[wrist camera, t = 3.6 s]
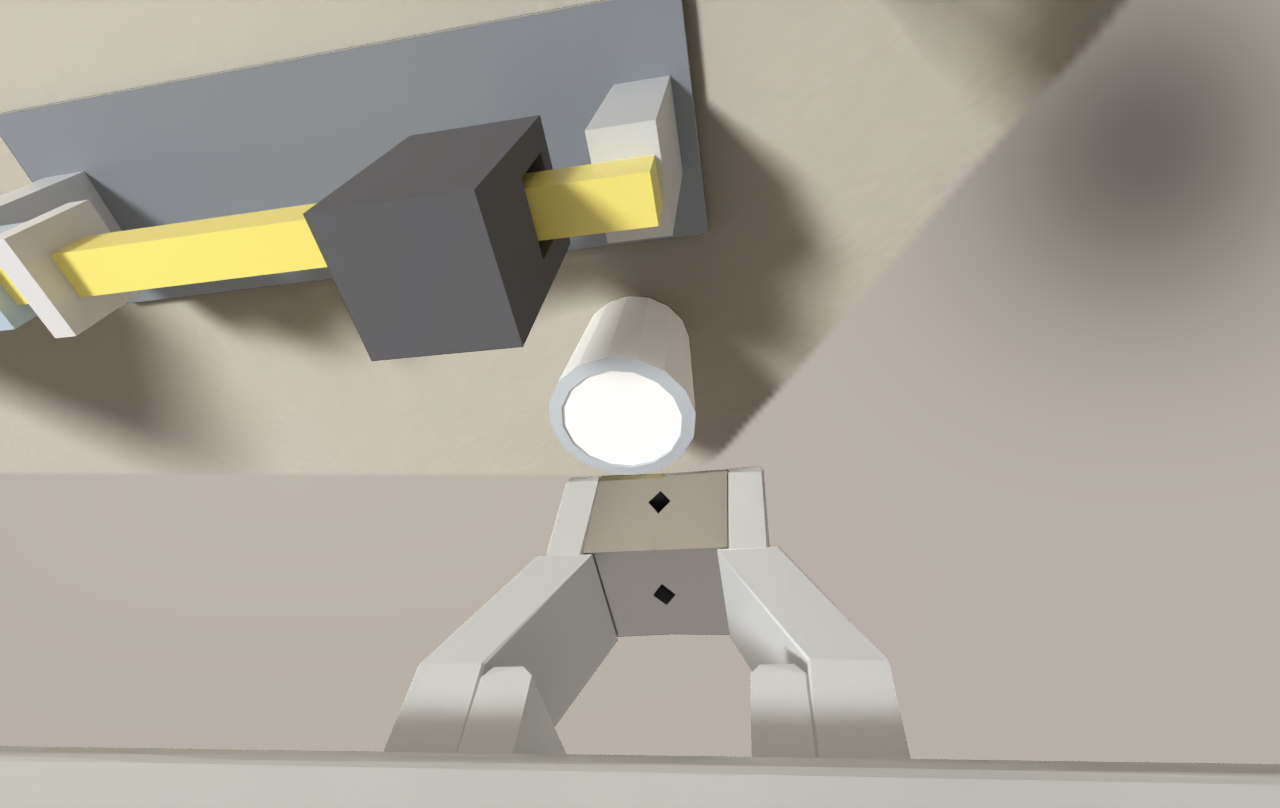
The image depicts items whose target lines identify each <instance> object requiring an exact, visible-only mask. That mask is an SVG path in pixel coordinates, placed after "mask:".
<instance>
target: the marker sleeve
mask: <svg viewBox="0 0 1280 808" xmlns="http://www.w3.org/2000/svg"><path fill="white" fill-rule="evenodd" d="M552 169H553V167H552V163H551V159H550V155H549V151H548V146H547V142H546V138H545V134H544V130H543V125H542V121H541V117H540V115H537V116H531V117H524V118H518V119H512V120H506V121H499V122H493V123H487V124H480V125H474V126H468V127H461V128H455V129H449V130H442V131H436V132H430V133H424V134H417V135H411V136H409V137H407V138H406V139H404V140H403V141H402V142H400V143H399V144H398V145H396V146H395V147H393V148H392V149H391V150H389V151H388V152H387V153H385V154H384V155H383V156H381V157H380V158H378V159H377V160H376V161H374V162H373V163H372V164H370V165H369V166H367V167H366V168H365V169H363V170H362V171H361V172H359V173H358V174H357V175H355V176H354V177H352V178H351V179H350V180H348V181H347V182H346V183H344V184H343V185H341V186H340V187H339V188H337V189H336V190H335V191H333V192H332V193H331V194H329V195H328V196H326V197H325V198H324V199H322V200H321V201H320V202H318V203H317V204H315V205H314V206H313V207H311V208H310V209H309V210H307V211H306V212H305V213H303V215H304V218H305V220H306V222H307V224H308V226H309V228H310V230H311V233H312V235H313V237H314V239H315V241H316V243H317V245H318V248H319V250H320V252H321V254H322V256H323V258H324V260H325V262H326V265H327V267H328V269H329V271H330V273H331V275H332V277H333V280H334V282H335V284H336V286H337V288H338V290H339V292H340V294H341V297H342V299H343V301H344V303H345V305H346V307H347V309H348V312H349V314H350V316H351V318H352V320H353V322H354V324H355V327H356V329H357V331H358V333H359V335H360V337H361V339H362V341H363V344H364V346H365V348H366V350H367V352H368V354H369V356H370V359H371V361H378V360H389V359H399V358H410V357H421V356H431V355H442V354H452V353H463V352H474V351H484V350H495V349H506V348H516V347H523V345H524V343H525V341H526V339H527V337H528V335H529V332H530V330H531V328H532V326H533V324H534V322H535V319H536V317H537V315H538V313H539V311H540V308H541V306H542V304H543V302H544V300H545V298H546V295H547V293H548V291H549V289H550V287H551V285H552V282H553V280H554V278H555V276H556V274H557V271H558V269H559V267H560V265H561V263H562V261H563V258H564V256H565V254H566V252H567V250H568V248H569V245H570V238H569V237H567V238H558V239H550V240H542V241H538V238H537V234H536V231H535V227H534V223H533V219H532V216H531V212H530V208H529V205H528V201H527V197H526V193H525V190H524V186H523V182H522V177H523V175H524V174H525V173H531V172H538V171H545V170H552Z"/></svg>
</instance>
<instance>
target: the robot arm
mask: <svg viewBox="0 0 1280 808" xmlns="http://www.w3.org/2000/svg"><path fill="white" fill-rule="evenodd" d="M767 520H768V519H767V507H766V495H765V483H764V470H763V469H762V467H761V466H755V467H742V468H730V469H729V470H728V469H725V470H709V471H694V472H679V473H665V474H638V475H611V476H602V477H573V478H570V480H569V481H568V482H567V483H566V485H565V489H564V492H563V496H562V499H561V503H560V507H559V510H558V514H557V517H556V521H555V525H554V528H553V532H552V535H551V539H550V543H549V546H548V550H547V554H546V556H539V557H536V558H535V559H533V560H532V561H531V562H530V563H529V564H528V565H527V566H526V567H525V568H524V569H523V570H521V572H519V573H518V574H517V575H516V576H515V577H514V578H513V579H512V580H511V581H510V582H509V583H507V584H506V585H505V586H504V587H503V588H502V589H501V590H500V591H499V592H497V593H496V594H495V595H494V596H493V597H492V598H491V599H490V600H489V601H488V602H487V603H485V604H484V605H483V606H482V607H481V608H480V609H479V610H478V611H477V612H476V613H475V614H473V615H472V616H471V617H470V618H469V619H468V620H467V621H466V622H465V623H464V624H463V625H462V626H460V627H459V628H458V629H457V630H456V631H455V632H454V633H453V634H452V635H451V636H450V637H449V638H447V639H446V640H445V641H444V642H443V643H442V644H441V645H440V646H439V647H438V648H437V649H435V650H434V651H433V652H432V653H431V654H430V655H429V656H428V657H427V658H426V659H424V660H423V661H422V662H421V663H420V664H419V666H418V668H417V671H416V673H415V676H414V678H413V680H412V683H411V685H410V688H409V690H408V693H407V695H406V698H405V700H404V703H403V705H402V708H401V710H400V712H399V715H398V717H397V720H396V722H395V725H394V727H393V729H392V732H391V734H390V737H389V739H388V742H387V744H386V747H385V749H384V752H370V751H369V752H368V751H367V752H366V751H299V750H230V749H229V750H228V749H227V750H226V749H161V748H157V749H156V748H93V747H87V748H86V747H25V746H24V747H22V746H0V808H1280V764H1228V763H1227V764H1226V763H1158V762H1156V763H1154V762H1152V763H1151V762H1088V761H1083V762H1082V761H1081V762H1080V761H1017V760H1015V761H1014V760H947V759H943V760H942V759H910V754H909V750H908V745H907V741H906V736H905V732H904V727H903V723H902V718H901V714H900V710H899V705H898V700H897V696H896V691H895V687H894V682H893V678H892V673H891V669H890V665H889V661H888V660H887V659H886V658H885V657H884V656H883V654H882V653H881V652H880V651H879V650H878V649H877V648H876V647H875V646H874V645H873V644H872V643H871V642H870V641H869V640H868V639H867V638H866V637H865V636H864V635H863V634H862V633H861V632H860V631H859V629H858V628H857V627H856V626H855V625H854V624H853V623H852V622H851V621H850V620H849V619H848V618H847V617H846V616H845V615H844V614H843V613H842V612H841V611H840V610H839V609H838V608H837V607H836V605H835V604H834V603H833V602H832V601H831V600H830V599H829V598H828V597H827V596H826V595H825V594H824V593H823V592H822V591H821V590H820V589H819V588H818V587H817V586H816V585H815V584H814V583H813V582H812V580H811V579H810V578H809V577H808V576H807V575H806V574H805V573H804V572H803V571H802V570H801V569H800V568H799V567H798V566H797V565H796V564H795V563H794V562H793V561H792V560H791V559H790V558H789V557H788V556H787V554H786V553H785V552H784V551H783V550H782V549H781V548H780V547H770V544H769V532H768V521H767ZM669 634H689V635H730V638H731V639H732V641H733V643H734V644H735V645H736V647H737V648H738V650H739V652H740V653H741V655H742V656H743V658H744V659H745V661H746V663H747V664H748V666H749V667H750V669H751V670H752V673H751V674H750V679H751V680H750V682H751V683H750V686H751V739H752V757H723V756H719V757H717V756H716V757H715V756H647V755H579V754H578V755H576V754H572V755H571V754H566V753H565V750H564V748H563V746H562V743H561V741H560V739H559V737H558V734H557V732H556V730H555V726H556V725H557V723H558V722H559V721H560V719H561V718H562V716H563V715H564V713H565V712H566V711H567V709H568V708H569V707H570V705H571V704H572V703H573V701H574V700H575V699H576V697H577V696H578V694H579V693H580V692H581V690H582V689H583V687H584V686H585V685H586V683H587V682H588V681H589V679H590V678H591V677H592V675H593V674H594V672H595V671H596V670H597V668H598V667H599V666H600V664H601V662H602V661H603V660H604V659H605V657H606V656H607V655H608V653H609V652H610V650H611V649H612V648H613V646H614V645H615V643H616V642H617V641H618V639H617V637H622V636H623V637H624V636H645V635H646V636H647V635H669Z"/></svg>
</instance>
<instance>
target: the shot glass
mask: <svg viewBox="0 0 1280 808" xmlns="http://www.w3.org/2000/svg"><path fill="white" fill-rule="evenodd" d="M549 412H550V425H551V427H552V429H553V431H554V433H555V434H556V436H557V438H558V439H559V441H560V443H561V445H562V446H563V447H564V448H565V449H566V450H567V451H569V452H570V453H571V454H572V455H573V456H575V457H576V458H577V459H578V460H580V461H581V462H582V463H584V464H586V465H589V466H591V467H594V468H597V469H599V470H602V471H604V472H607V473H614V474H626V475H638V474H643V473H647V472H652V471H656V470H661V469H662V468H664V467H665V466H667V465H669V464H670V463H672V462H673V461H675V460H676V459H678V458H679V457H681V456H682V455H683V453H684V451H685V450H686V448H687V447H688V445H689V444H690V442H691V441H692V439H693V437H694V430H695V417H696V411H695V400H694V388H693V377H692V366H691V355H690V344H689V336H688V334H687V331H686V329H685V326H684V324H683V321H682V320H681V319H680V318H679V317H678V316H677V315H676V314H675V313H674V312H673V311H672V310H671V309H670V308H669V307H668V306H667V305H665V304H662V303H660V302H658V301H655V300H653V299H651V298H648V297H632V296H627V297H623V298H620V299H617V300H614V301H611V302H608V303H607V304H606V305H604V306H603V307H602V308H601V309H600V310H598V311H597V312H596V313H595V314H594V315H593V317H592V319H591V321H590V323H589V325H588V326H587V328H586V330H585V332H584V334H583V336H582V338H581V340H580V341H579V343H578V345H577V347H576V349H575V351H574V353H573V355H572V357H571V358H570V360H569V362H568V364H567V366H566V368H565V370H564V372H563V373H562V375H561V377H560V379H559V381H558V383H557V385H556V388H555V390H554V392H553V394H552V397H551V399H550V401H549Z"/></svg>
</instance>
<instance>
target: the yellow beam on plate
mask: <svg viewBox="0 0 1280 808" xmlns="http://www.w3.org/2000/svg"><path fill="white" fill-rule="evenodd" d="M537 115H540V117H541V121H542V125H543V130H544V134H545V138H546V142H547V146H548V151H549V155H550V159H551V163H552V167H553V169H552V170H545V171H538V172H531V173H525V174H524V175H523V177H522V182H523V186H524V190H525V193H526V197H527V201H528V205H529V208H530V212H531V216H532V219H533V223H534V227H535V231H536V234H537V238H538V241H542V240H550V239H558V238H567V237H569V238H570V245H569V248H568V250H567V251H569V250H577V249H586V248H594V247H602V246H611V245H619V244H627V243H636V242H644V241H652V240H661V239H669V238H677V237H686V236H694V235H703V234H708V220H707V211H706V202H705V194H704V185H703V176H702V167H701V158H700V149H699V141H698V132H697V123H696V114H695V105H694V97H693V88H692V79H691V70H690V61H689V53H688V44H687V35H686V26H685V17H684V8H683V0H601V1H596V2H591V3H585V4H580V5H575V6H569V7H564V8H559V9H553V10H548V11H543V12H537V13H532V14H527V15H521V16H516V17H511V18H505V19H500V20H494V21H489V22H484V23H478V24H473V25H468V26H462V27H457V28H452V29H446V30H441V31H436V32H430V33H425V34H420V35H414V36H409V37H404V38H398V39H393V40H388V41H382V42H377V43H372V44H366V45H361V46H356V47H350V48H345V49H340V50H334V51H329V52H324V53H318V54H313V55H308V56H302V57H297V58H292V59H286V60H281V61H276V62H270V63H265V64H260V65H254V66H249V67H244V68H238V69H233V70H228V71H222V72H217V73H212V74H206V75H201V76H196V77H190V78H185V79H180V80H174V81H169V82H163V83H158V84H153V85H147V86H142V87H137V88H131V89H126V90H121V91H115V92H110V93H105V94H99V95H94V96H89V97H83V98H78V99H73V100H67V101H62V102H57V103H51V104H46V105H41V106H35V107H30V108H25V109H19V110H14V111H9V112H3V113H0V136H1V138H2V139H3V141H4V142H5V143H6V145H7V146H8V148H9V149H10V151H11V152H12V154H13V155H14V157H15V158H16V159H17V161H18V162H19V164H20V165H21V167H22V168H23V170H24V171H25V173H26V174H27V176H28V177H29V178H30V180H31V181H32V183H30V184H27V185H25V186H22V187H20V188H17V189H15V190H12V191H10V192H7V193H5V194H2V195H0V331H4V330H13V329H16V328H18V327H20V326H21V325H23V324H25V323H26V322H28V321H30V320H31V319H33V318H35V317H36V316H38V317H39V318H40V319H41V321H42V322H43V323H44V325H45V326H46V327H47V328H48V330H49V331H50V332H51V334H52V335H53V336H54V338H64V337H73V336H77V335H79V334H80V333H82V332H83V331H85V330H86V329H88V328H89V327H91V326H92V325H94V324H95V323H97V322H98V321H100V320H101V319H103V318H104V317H106V316H107V315H109V314H110V313H112V312H113V311H115V310H116V309H118V308H119V307H121V306H122V305H124V304H126V303H135V302H143V301H151V300H160V299H168V298H177V297H185V296H193V295H202V294H210V293H218V292H227V291H235V290H243V289H252V288H260V287H268V286H277V285H285V284H293V283H302V282H310V281H318V280H327V279H333V277H332V275H331V273H330V271H329V269H328V267H327V265H326V262H325V260H324V258H323V256H322V254H321V252H320V250H319V248H318V245H317V243H316V241H315V239H314V237H313V235H312V233H311V230H310V228H309V226H308V224H307V222H306V220H305V218H304V215H303V213H305V212H306V211H307V210H309V209H310V208H311V207H313V206H314V205H315V204H317V203H318V202H320V201H321V200H322V199H324V198H325V197H326V196H328V195H329V194H331V193H332V192H333V191H335V190H336V189H337V188H339V187H340V186H341V185H343V184H344V183H346V182H347V181H348V180H350V179H351V178H352V177H354V176H355V175H357V174H358V173H359V172H361V171H362V170H363V169H365V168H366V167H367V166H369V165H370V164H372V163H373V162H374V161H376V160H377V159H378V158H380V157H381V156H383V155H384V154H385V153H387V152H388V151H389V150H391V149H392V148H393V147H395V146H396V145H398V144H399V143H400V142H402V141H403V140H404V139H406V138H407V137H409V136H411V135H417V134H424V133H430V132H436V131H442V130H449V129H455V128H461V127H468V126H474V125H480V124H487V123H493V122H499V121H506V120H512V119H518V118H524V117H531V116H537Z"/></svg>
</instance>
